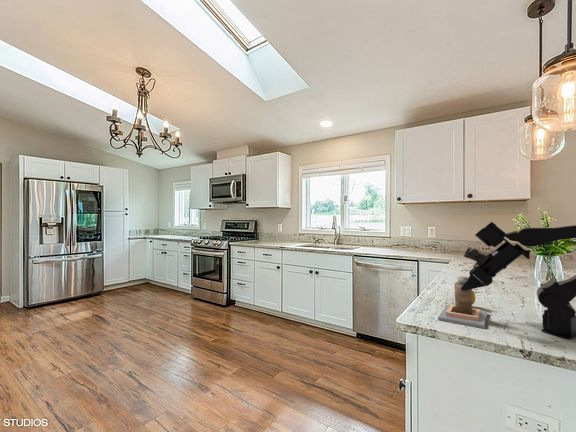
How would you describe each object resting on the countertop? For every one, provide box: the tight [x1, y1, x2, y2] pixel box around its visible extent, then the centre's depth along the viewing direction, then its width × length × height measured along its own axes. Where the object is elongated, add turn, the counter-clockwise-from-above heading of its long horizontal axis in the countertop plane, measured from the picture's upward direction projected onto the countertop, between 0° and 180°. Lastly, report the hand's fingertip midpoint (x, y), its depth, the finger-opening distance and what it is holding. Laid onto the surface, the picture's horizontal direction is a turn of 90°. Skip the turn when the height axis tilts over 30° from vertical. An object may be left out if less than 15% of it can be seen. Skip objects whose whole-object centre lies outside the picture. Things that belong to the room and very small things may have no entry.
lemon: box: [471, 289, 476, 305], centre depth 108 cm, size 6×6×8 cm
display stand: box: [437, 304, 488, 329], centre depth 97 cm, size 13×16×2 cm
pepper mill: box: [454, 275, 473, 315], centre depth 98 cm, size 5×5×13 cm
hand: (463, 286), depth 97 cm, fingers open, 9 cm apart
